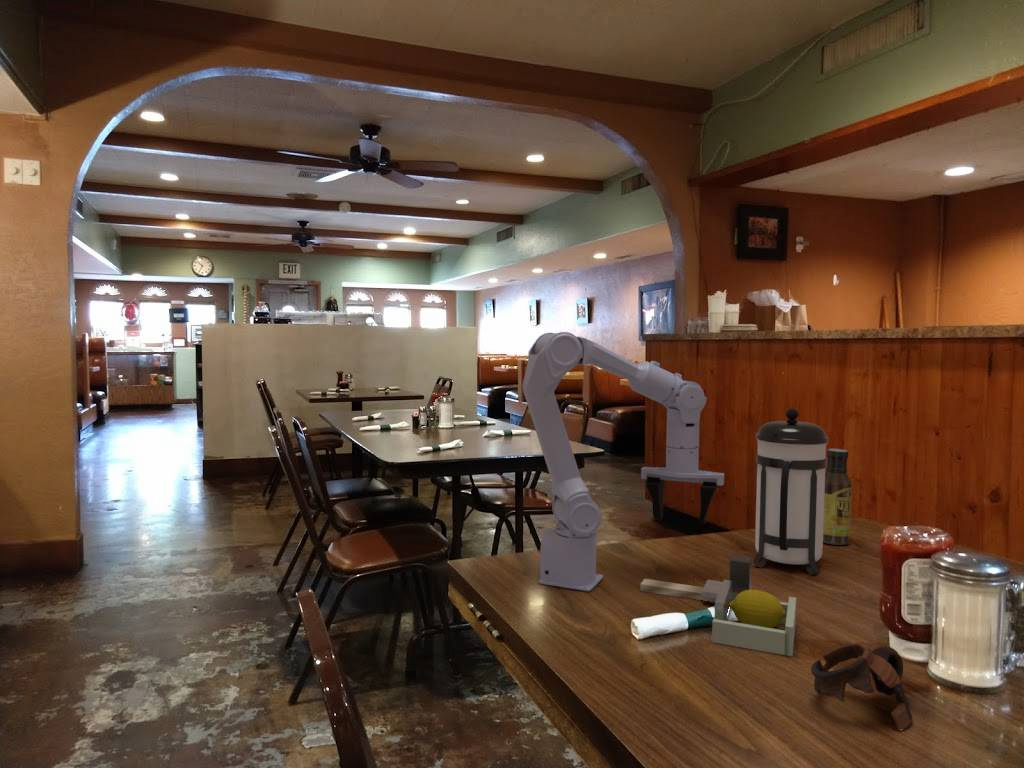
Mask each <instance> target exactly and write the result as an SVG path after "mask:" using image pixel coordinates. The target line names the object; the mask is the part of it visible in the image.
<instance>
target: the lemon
mask: <svg viewBox="0 0 1024 768" xmlns="http://www.w3.org/2000/svg"><path fill="white" fill-rule="evenodd" d="M780 602H781V601H780V600H779V599H778V598H777V597H776V596H775V595H773V594H771V593H769V592H766V591H764V590H763V591H762V590H758V589H751V590H745V591H743V592H741V593H739V594H738V595H737V596H736V598H735V599H734V600H733V601H732V602H730V603H729V607H730V609H731V610H730V611H732V613H733V614H734V616H735V618H736V619H737V622H738V623H742V624H748V625H754V626H760V627H766V628H772V629H775V627H777V626H778V625H779V623H780V622H781V620H782V619H783V618H784V617H785V616H786V612H785V611H784V610H783V607H782V605H781V603H780Z"/></svg>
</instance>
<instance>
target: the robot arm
mask: <svg viewBox="0 0 1024 768" xmlns="http://www.w3.org/2000/svg"><path fill="white" fill-rule="evenodd" d="M527 355H528V356H527V357H528V360H527V365H526V369H525V373H524V377H523V382H522V393H523V395H524V399H525V401H526V404H527V407H528V410H529V411H528V412H529V414H530V417H531V420H532V423H533V426H534V429H535V432H536V436H537V439H538V441H539V445H540V448H541V452H542V454H543V457H544V461H545V464H546V467H547V471H548V473H549V476H550V479H551V487H550V488H551V489H550V490H551V493H552V494H551V495H552V503H551V505H552V506H551V508H552V509H551V510H552V513H553V515H554V517H555V519H556V520H557V522H556V526H555V529H554V528H547V529H546V530H545V531H544V533H543V534H542V536H541V542H540V552H539V553H540V565H539V567H540V570H539V572H540V573H539V576H540V577H539V578H540V579H539V580H538V584H541V585H548V586H554V587H559V588H565V589H571V590H578V591H583V592H584V591H585V592H591V591H592V590H593V589H594V588H595V587H596V586H597V585H598V584H599V583H600V581H602V579H603V578H604V575H603V574H600V573H599V574H598V573H597V530H598V529H599V527H600V526H601V523H602V511H601V509H600V507H599V506H598V504H597V502H595V501H593V499H592V496H591V493H590V491H589V488H588V487H587V486H586V484H585V482H584V480H583V479H582V478H581V474H580V471H579V468H578V464H577V461H576V458H575V456H574V451H573V448H572V445H571V442H570V439H569V436H568V433H567V430H566V426H565V424H564V420H563V417H562V413H561V410H560V406H559V403H558V401H557V398H556V394H555V390H556V389H557V387H558V386H559V384H560V383H561V381H562V379H563V378H564V376H566V374H568V373H569V372H570V371H571V370H572V369H574V368H575V366H577V365H580V366H581V365H582V366H586V365H592V366H593V367H597V368H599V369H602V370H603V371H606V372H607V373H611V374H613V375H615V376H618V377H619V378H622V379H624V380H627V381H628V383H629V387H630V389H631V391H633V392H635V393H637V394H639V395H642V396H644V397H646V398H648V399H651V400H653V401H655V402H657V403H659V404H660V405H663V406H664V407H665V408H666V444H665V445H666V448H665V467H660V466H659V467H654V466H652V467H651V466H643V467H641V469H640V470H641V471H640V479H642V480H646V482H645V486H646V489H647V490H648V493H649V495H650V498H651V500H652V503H653V506H654V510H655V515H656V520H659V521H661V520H662V519H663V518H664V489H665V487H664V485H665V481H672V482H681V483H682V482H685V483H694V484H695V483H697V484H701V485H700V487H699V493H700V512H699V513H700V514H699V525H703V526H704V525H705V524H706V520H707V515H708V511H709V508H710V505H711V502H712V499H713V497H714V495H715V493H716V490H717V488H718V487H721V486H723V485H724V484H725V473H724V472H715V471H708V470H701V469H699V454H700V453H699V451H700V450H699V449H700V419H701V412H702V411H703V409H704V407H705V406H706V403H707V400H708V399H707V398H708V397H707V396H705V393H704V390H703V388H702V386H701V385H700V384H699V383H697V382H695V381H689V380H683V378H682V377H683V375H682V374H680V373H678V372H675V373H672V372H670V371H668V370H666V369H664V368H662V367H660V366H661V363H660V362H657V361H655V360H651V361H650V362H649V361H646V360H644V361H642V362H639V363H635V362H632V361H631V360H630V359H628V358H625V357H624V356H621V355H620V354H618V353H616V352H614V351H612V350H610V349H609V348H606V347H605V346H602V345H601V344H599V343H597V342H595V341H592V340H590V339H588V338H585V337H582V336H576V335H575V334H573V333H571V332H568V331H559V332H546V333H543V334H541V335H539V336H538V338H536V339H535V341H534V343H533V344H532V346H531V347H530V349H529V350H528V354H527Z"/></svg>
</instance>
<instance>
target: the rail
mask: <svg viewBox="0 0 1024 768" xmlns="http://www.w3.org/2000/svg"><path fill="white" fill-rule="evenodd" d="M703 588H704V586H698V585H697V586H696V585H689V584H682V583H676V582H671V581H670V582H669V581H661V580H657V579H651V578H650V579H649V578H644V579H643V580H642V582H640V587H639V589H640V592H645V593H651V594H658V595H663V596H668V597H669V596H670V597H676V598H682V597H683V598H682V599H688V598H689V600H694V599H695V600H696V601H701V600H703V601H702V602H707V601H710V602H709V603H714V602H715V601H716V598H712V597H705V596H702V590H703Z"/></svg>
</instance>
